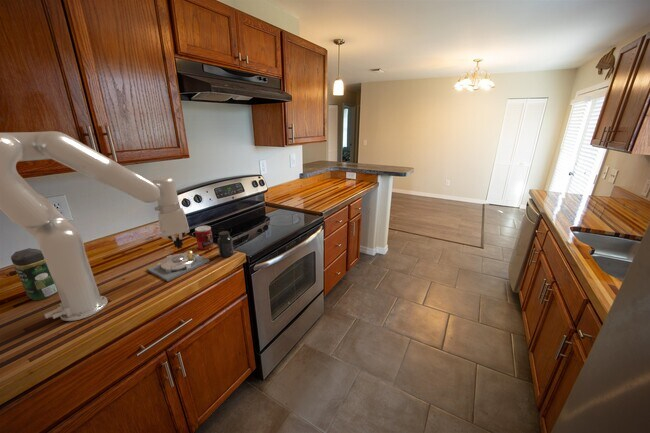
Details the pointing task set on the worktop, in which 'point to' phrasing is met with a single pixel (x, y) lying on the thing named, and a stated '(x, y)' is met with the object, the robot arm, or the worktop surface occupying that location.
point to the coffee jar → (34, 273)
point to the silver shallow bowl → (178, 262)
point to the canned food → (204, 237)
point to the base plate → (172, 275)
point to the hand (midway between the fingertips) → (179, 247)
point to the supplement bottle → (225, 244)
